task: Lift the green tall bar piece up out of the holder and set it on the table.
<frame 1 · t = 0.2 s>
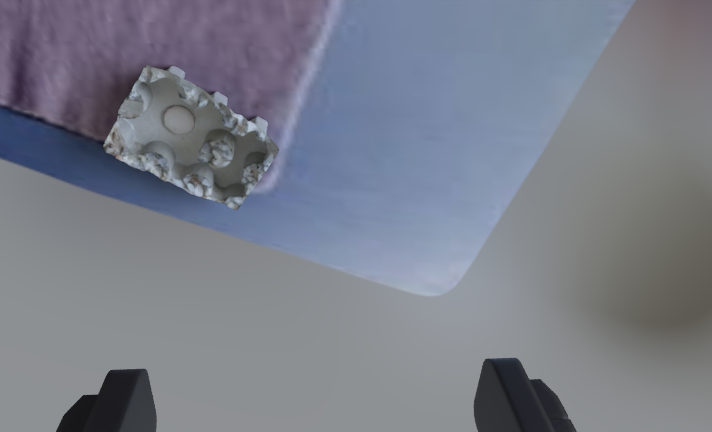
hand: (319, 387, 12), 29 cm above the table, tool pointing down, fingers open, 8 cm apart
egg carton: (202, 127, 39), on the table
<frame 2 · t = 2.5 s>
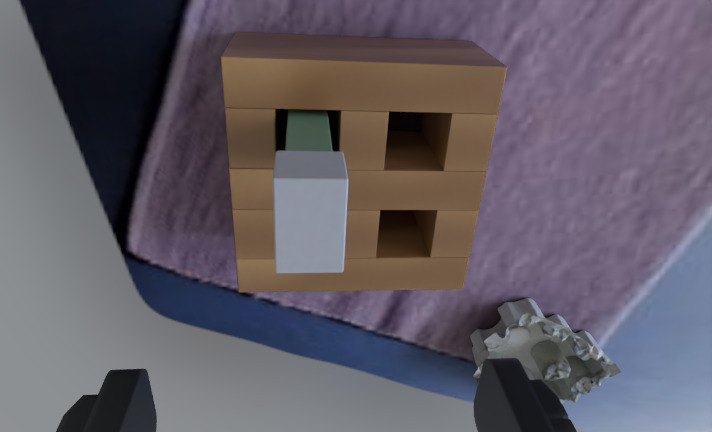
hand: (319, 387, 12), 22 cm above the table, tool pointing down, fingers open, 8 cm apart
egg carton: (530, 338, 43), on the table
holder: (350, 147, 33), on the table
green tall bar piece: (306, 103, 31), resting in holder
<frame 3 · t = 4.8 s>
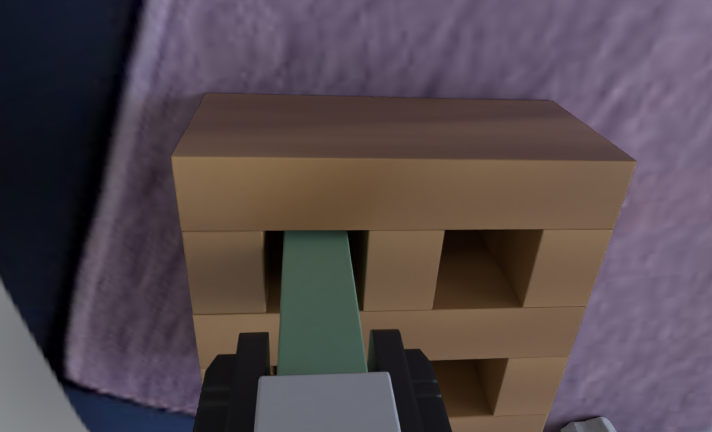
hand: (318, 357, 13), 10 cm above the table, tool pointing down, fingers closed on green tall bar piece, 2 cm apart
holder: (373, 244, 23), on the table
green tall bar piece: (312, 188, 22), resting in holder, touching gripper
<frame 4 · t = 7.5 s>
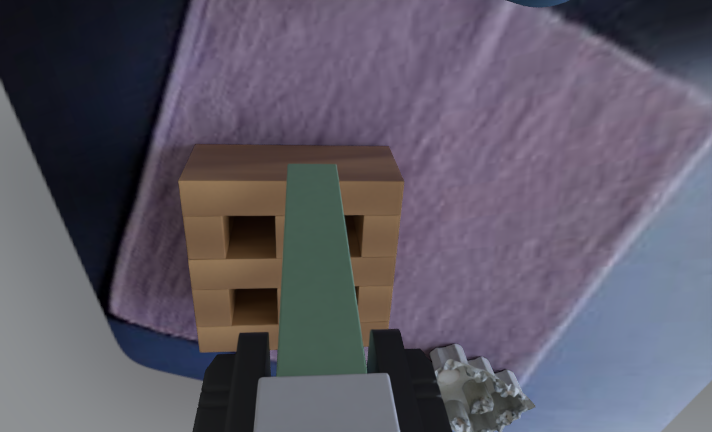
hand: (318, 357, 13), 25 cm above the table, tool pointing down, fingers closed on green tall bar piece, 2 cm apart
egg carton: (461, 377, 50), on the table
holder: (294, 228, 39), on the table
green tall bar piece: (311, 189, 22), point 15 cm above the table, touching gripper
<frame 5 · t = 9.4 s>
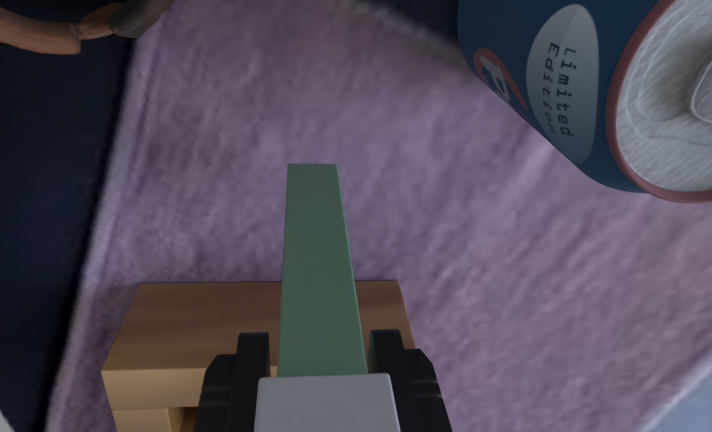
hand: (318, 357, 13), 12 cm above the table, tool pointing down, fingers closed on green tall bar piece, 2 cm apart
soda can: (528, 4, 21), on the table
holder: (275, 372, 31), on the table
green tall bar piece: (312, 189, 22), point 3 cm above the table, touching gripper
when the fingers open (10 cm above the table, at t = 10.4 s): green tall bar piece stays where it is, on the table.
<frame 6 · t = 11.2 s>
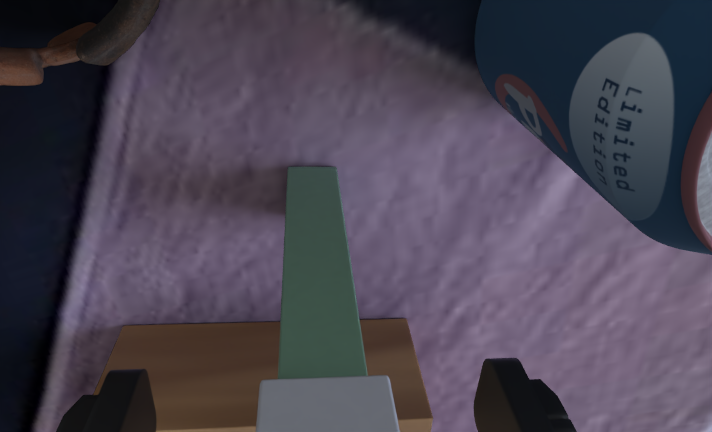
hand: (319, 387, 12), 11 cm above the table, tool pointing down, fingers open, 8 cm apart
soda can: (553, 20, 19), on the table
holder: (273, 416, 28), on the table
green tall bar piece: (312, 192, 22), on the table
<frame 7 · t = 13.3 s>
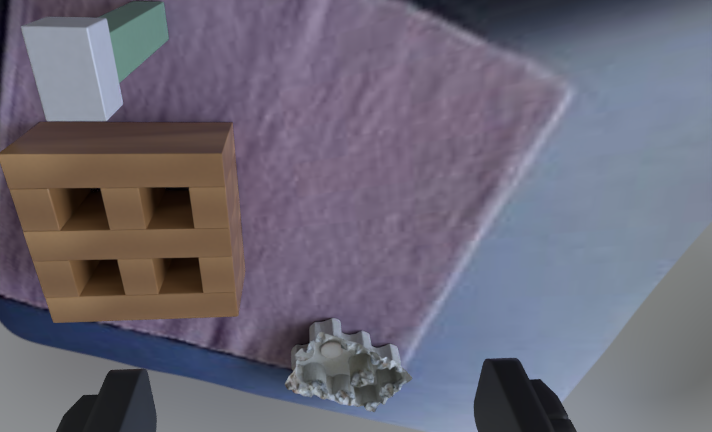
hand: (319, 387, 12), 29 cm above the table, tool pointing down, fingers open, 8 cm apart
egg carton: (346, 351, 51), on the table
holder: (152, 203, 41), on the table
green tall bar piece: (151, 20, 34), on the table
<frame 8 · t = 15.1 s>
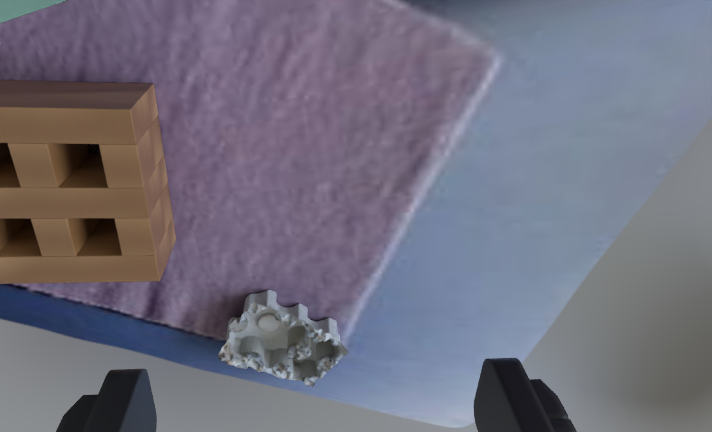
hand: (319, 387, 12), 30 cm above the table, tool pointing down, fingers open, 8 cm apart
egg carton: (285, 325, 51), on the table
holder: (76, 167, 40), on the table
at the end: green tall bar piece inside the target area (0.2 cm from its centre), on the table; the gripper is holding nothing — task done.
